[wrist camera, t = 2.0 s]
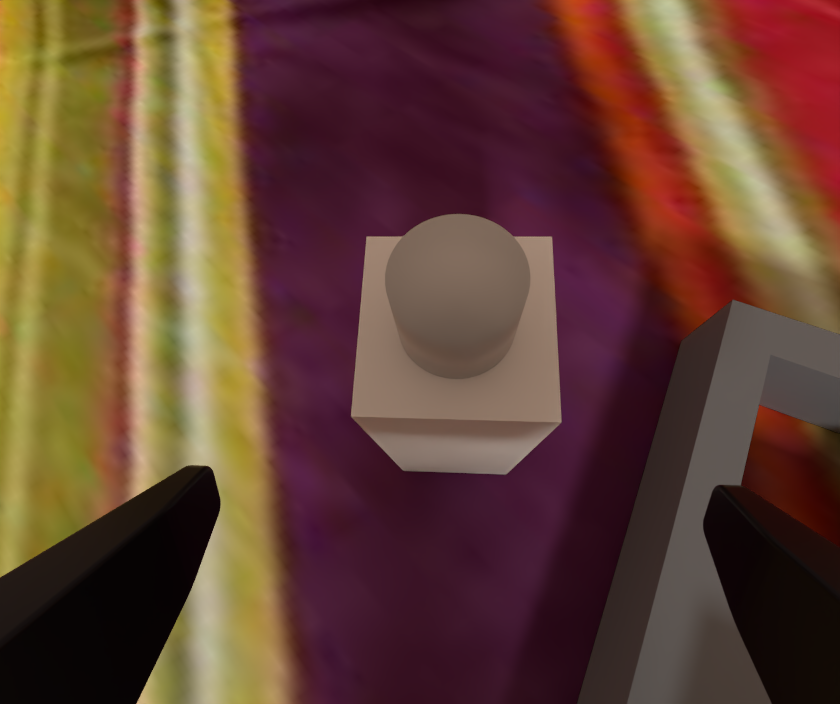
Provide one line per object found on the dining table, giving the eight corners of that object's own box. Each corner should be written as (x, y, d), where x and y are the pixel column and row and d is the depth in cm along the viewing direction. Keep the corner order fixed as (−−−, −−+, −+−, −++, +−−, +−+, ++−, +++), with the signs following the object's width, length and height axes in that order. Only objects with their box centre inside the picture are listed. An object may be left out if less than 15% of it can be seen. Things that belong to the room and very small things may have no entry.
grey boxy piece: (828, 1158, 13) (1216, 1813, 6) (503, 958, 15) (544, 1314, 8) (922, 424, 19) (1175, 371, 12) (681, 341, 20) (790, 253, 14)
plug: (506, 474, 19) (588, 396, 7) (403, 470, 20) (325, 390, 8) (504, 375, 21) (573, 174, 9) (408, 373, 21) (348, 176, 9)
